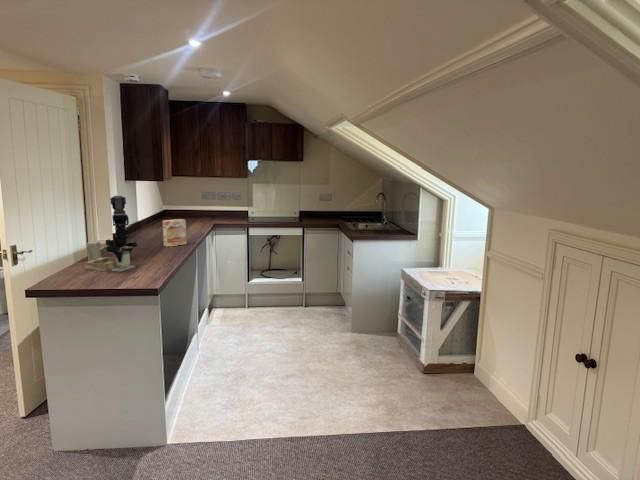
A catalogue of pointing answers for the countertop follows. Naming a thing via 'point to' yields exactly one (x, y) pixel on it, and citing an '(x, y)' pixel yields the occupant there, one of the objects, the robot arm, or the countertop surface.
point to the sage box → (124, 259)
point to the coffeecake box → (174, 232)
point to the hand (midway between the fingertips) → (123, 261)
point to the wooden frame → (102, 264)
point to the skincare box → (93, 251)
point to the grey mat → (123, 268)
